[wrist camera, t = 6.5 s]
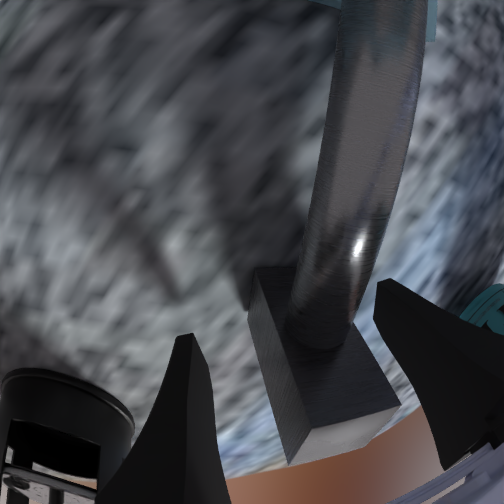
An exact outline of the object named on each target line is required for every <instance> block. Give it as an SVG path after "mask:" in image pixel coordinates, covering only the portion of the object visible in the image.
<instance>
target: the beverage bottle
mask: <svg viewBox="0 0 504 504" xmlns="http://www.w3.org/2000/svg"><path fill="white" fill-rule="evenodd" d="M459 318H461V319H463V320H465V321H467V322H469V323H472V324H474V325H476V326H479V327H481V328H484V329H486V330H489V331H492V332H495V333H498V334H501V335H504V284H500V283H499V284H495V285H492V286H490V287H489V288H487V289H486V290H484V291H483V292H482V293H481V294H479V295H478V296H477V297H476V298H475V299H474V300H473V301H472V302H471V303H470V304H469V305H468V307H467V308H466V309H465V310H464V311H463V313H462V314H461V315H460V317H459Z"/></svg>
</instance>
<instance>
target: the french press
mask: <svg viewBox="0 0 504 504" xmlns="http://www.w3.org/2000/svg"><path fill="white" fill-rule="evenodd" d="M1 392H2V396H1V399H0V495H1V486H2V485H4V486H6V487H7V488H8V492H7V502H6V504H29V499H32V500H34V501H36V502H39V503H42V504H94V500H95V497H96V496H97V494H98V493H99V492H100V491H101V490H102V489H103V487H104V486H105V485H106V484H107V483H108V481H109V480H110V479H111V478H112V476H113V475H114V474H115V472H116V471H117V470H118V468H119V467H120V465H121V464H122V462H123V461H124V459H125V458H126V456H127V455H128V453H129V452H130V450H131V438H132V437H133V435H134V432H135V423H134V420H133V417H132V415H131V414H130V412H129V411H128V410H127V408H125V407H124V406H123V405H122V404H121V403H120V402H119V401H118V400H116V399H115V398H113V397H112V396H110V395H109V394H107V393H105V392H104V391H102V390H100V389H98V388H96V387H95V386H92V385H90V384H88V383H85V382H83V381H81V380H79V379H76V378H73V377H70V376H67V375H64V374H60V373H57V372H53V371H49V370H42V369H35V368H23V369H18V370H14V371H12V372H10V373H8V374H7V375H6V377H5V378H4V379H3V382H2V386H1ZM48 427H49V428H48ZM50 428H52V429H55V430H58V431H61V432H64V433H68V434H71V435H73V436H76V437H78V438H76V437H72V436H68V435H65V434H62V433H59V432H56V431H54V430H52V429H50ZM8 447H9V448H11V449H12V450H13V455H12V461H11V464H9V463H5V459H6V453H7V448H8ZM33 462H34V463H36V464H38V465H40V466H43V467H45V468H48V469H50V470H53V471H56V472H59V473H63V474H66V475H70V476H75V477H80V478H86V479H96V480H97V490H96V489H93V488H90V487H87V486H84V485H80V484H77V483H74V482H71V481H67V480H65V479H61V478H58V477H55V476H51V475H48V474H45V473H41V472H38V471H35V470H32V466H33Z"/></svg>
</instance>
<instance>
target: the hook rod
mask: <svg viewBox="0 0 504 504" xmlns="http://www.w3.org/2000/svg"><path fill="white" fill-rule="evenodd" d="M427 15H428V0H342V2H341V11H340V20H339V29H338V37H337V45H336V52H335V60H334V67H333V74H332V81H331V88H330V94H329V101H328V107H327V114H326V120H325V126H324V132H323V138H322V143H321V149H320V155H319V160H318V166H317V171H316V177H315V182H314V187H313V192H312V198H311V203H310V208H309V213H308V218H307V223H306V227H305V232H304V237H303V242H302V246H301V251H300V256H299V260H298V265H297V268H255V269H254V276H253V283H252V290H251V297H250V304H249V311H248V318H247V320H248V324H249V328H250V331H251V335H252V339H253V343H254V346H255V350H256V354H257V357H258V361H259V365H260V368H261V372H262V375H263V379H264V383H265V386H266V390H267V393H268V397H269V400H270V404H271V407H272V411H273V414H274V418H275V421H276V425H277V428H278V432H279V435H280V439H281V442H282V446H283V449H284V452H285V456H286V459H287V462H288V466H291V465H296V464H301V463H305V462H310V461H314V460H318V459H323V458H327V457H331V456H334V455H338V454H341V453H345V452H348V451H352V450H355V449H359V448H362V447H365V446H366V445H367V444H368V443H369V442H370V441H371V440H372V438H373V437H374V436H375V435H376V434H377V433H378V432H379V431H380V430H381V429H382V427H383V426H384V425H385V424H386V423H387V422H388V421H389V419H390V418H391V417H392V416H393V415H394V414H395V412H396V411H397V410H398V409H399V408H400V406H401V405H402V404H401V402H400V401H399V399H398V397H397V395H396V394H395V392H394V390H393V388H392V387H391V385H390V383H389V381H388V380H387V378H386V376H385V374H384V373H383V371H382V369H381V368H380V366H379V364H378V362H377V361H376V359H375V357H374V356H373V354H372V352H371V351H370V349H369V347H368V346H367V344H366V342H365V341H364V339H363V337H362V336H361V334H360V332H359V331H358V329H357V327H356V326H355V324H354V323H353V320H354V318H355V315H356V313H357V310H358V308H359V305H360V303H361V300H362V298H363V295H364V292H365V290H366V287H367V284H368V282H369V279H370V276H371V274H372V271H373V268H374V265H375V262H376V259H377V256H378V253H379V250H380V247H381V244H382V241H383V238H384V235H385V232H386V229H387V226H388V222H389V219H390V216H391V212H392V209H393V205H394V202H395V198H396V195H397V191H398V187H399V183H400V180H401V176H402V172H403V168H404V164H405V159H406V155H407V151H408V146H409V142H410V137H411V132H412V128H413V122H414V117H415V112H416V106H417V101H418V95H419V88H420V82H421V75H422V67H423V59H424V51H425V41H426V29H427Z"/></svg>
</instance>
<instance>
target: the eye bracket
mask: <svg viewBox="0 0 504 504" xmlns="http://www.w3.org/2000/svg"><path fill="white" fill-rule="evenodd" d="M308 1H312V2H316V3H320V4H324V5H327V6H331V7H334V8H337V9H341V2H342V0H308ZM436 21H437V0H428V15H427V29H426V41H425V42H435V35H436Z"/></svg>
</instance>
